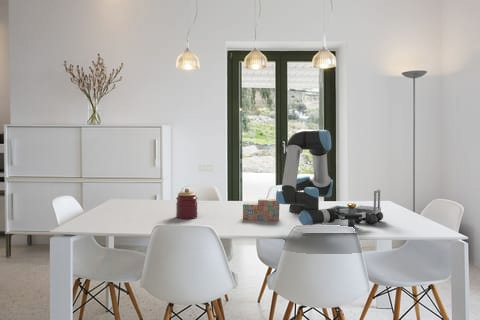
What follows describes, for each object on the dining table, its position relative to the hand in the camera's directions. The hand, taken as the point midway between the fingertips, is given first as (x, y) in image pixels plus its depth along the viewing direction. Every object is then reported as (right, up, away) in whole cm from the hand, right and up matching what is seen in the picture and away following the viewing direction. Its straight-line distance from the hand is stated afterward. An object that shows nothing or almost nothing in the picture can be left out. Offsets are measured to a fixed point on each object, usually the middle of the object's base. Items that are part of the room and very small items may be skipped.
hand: (356, 212), depth 205 cm
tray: (+2, -5, +34) cm, 35 cm away
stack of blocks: (-53, -6, +15) cm, 55 cm away
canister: (-98, -6, +20) cm, 100 cm away
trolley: (+9, -7, +9) cm, 15 cm away
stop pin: (-3, -7, -1) cm, 8 cm away
